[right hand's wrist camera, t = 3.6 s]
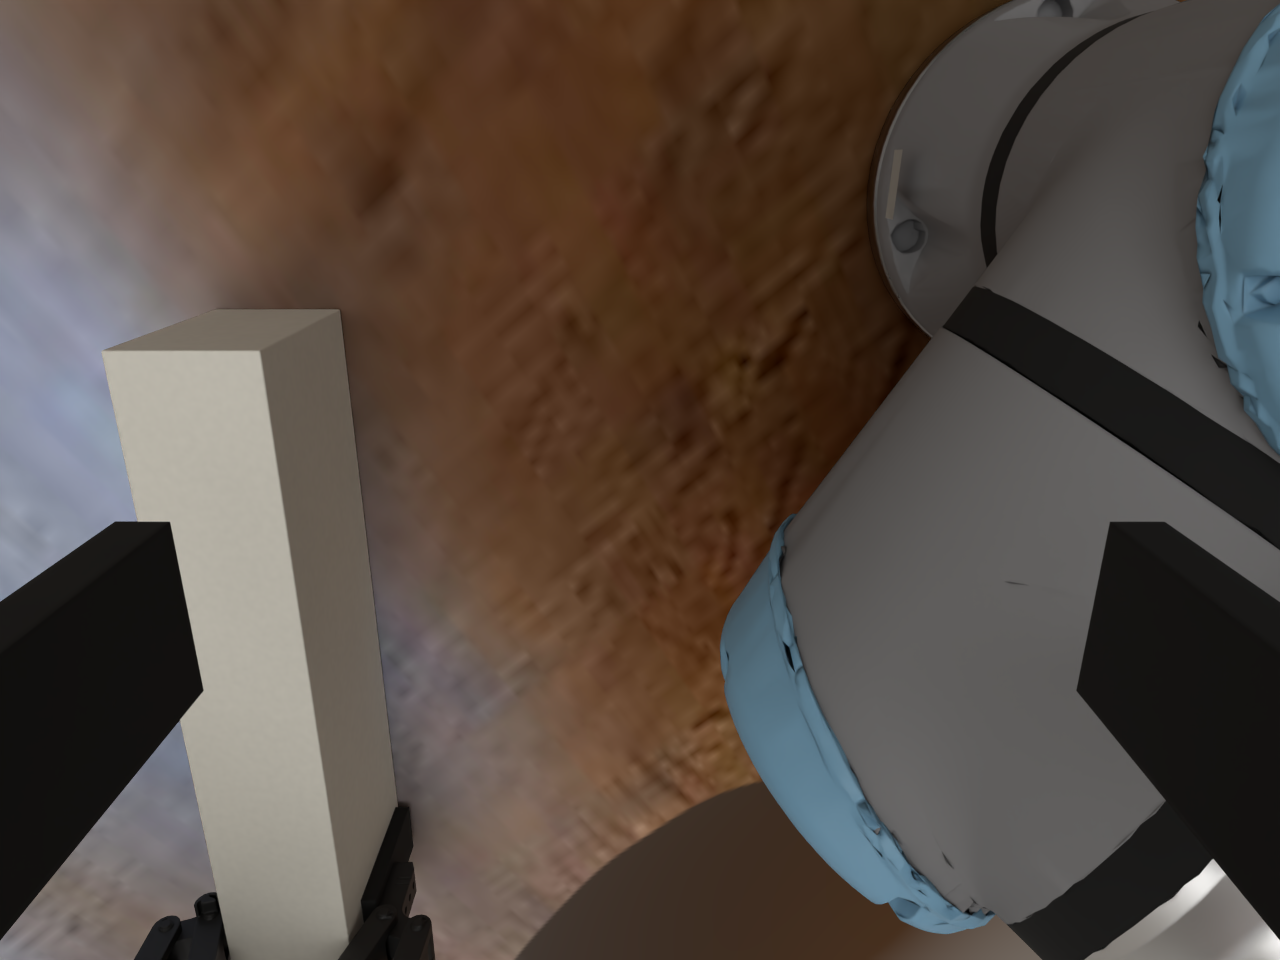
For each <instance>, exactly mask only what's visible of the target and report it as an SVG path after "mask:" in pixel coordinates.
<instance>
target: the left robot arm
mask: <svg viewBox="0 0 1280 960" xmlns="http://www.w3.org/2000/svg"><path fill="white" fill-rule="evenodd" d="M412 848H413V840H412V831H411V822H410V813H409V807H395V810H394V812H393V815H392V818H391V820H390V823H389V826H388V828H387V831H386V834H385V837H384V839H383V842H382V845H381V847H380V850H379V853H378V855H377V858H376V861H375V863H374V866H373V869H372V871H371V874H370V877H369V879H368V882H367V885H366V887H365V890H364V893H363V895H362V898H361V907H362V914H363V921H364V924H363V925H362V927H361V928H360V929H359V931H358V932H357V934H356V935H355V936H354V938H353V939H352V940H351V942H350V943H349V945H348V946H347V947H346V949H345V950H344V952H343V953H342V954H341V956H340V957H339V958H338V960H435V952H434V943H433V934H432V924H431V920H430V918H429V917H427V916H425V915H416V916H414V917H412V918H409V913H410V910H411V907H412V903H413V899H414V897H415V894H416V883H415V874H414V867H413V862H408V860H409V857H410V854H411V851H412ZM194 907H195V912H196V916H197V917H195V918H192V919H188V920H184V921H180V919H179V918H178V917H177V916H167V917H164V918H162V919H160V920H159V921H157V922H156V923H155V925H154V926H153V927H152V929H151V931H150V933H149V934H148V936H147V938H146V940H145V941H144V943H143V945H142V947H141V948H140V950H139V952H138V954H137V955H136V957H135V959H134V960H231V957H230V952H229V948H228V943H227V938H226V934H225V929H224V924H223V920H222V915H221V910H220V906H219V901H218V896H217V893H216V892H212V893H207V894H204V895H203V896H201V897H200V898H199V899H198V900H197V901H196V902H195V904H194Z"/></svg>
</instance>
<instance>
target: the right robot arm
mask: <svg viewBox="0 0 1280 960" xmlns="http://www.w3.org/2000/svg"><path fill="white" fill-rule="evenodd" d="M867 223H868V231H869V239H870V243H871V248H872V252H873V256H874V259H875V262H876V265H877V268H878V271H879V273H880V275H881V277H882V280H883V282H884V284H885V286H886V288H887V290H888V291H889V293H890V295H891V296H892V298H893V300H894V301H895V302H896V304H897V305H898V307H899V308H900V309H901V311H902V312H903V313H904V314H905V315H906V316H907V317H908V319H909V320H910V321H911V322H912V323H913V324H914V325H915V326H916V327H918V328H919V329H920V330H921V331H922V332H923V333H925V334H926V335H927V336H929V337H930V338H931V340H930V341H929V343H928V344H927V345H926V347H925V348H924V349H923V350H922V352H921V353H920V354H919V356H918V357H917V358H916V360H915V361H914V362H913V364H912V365H911V366H910V367H909V369H908V370H907V371H906V373H905V374H904V375H903V377H902V378H901V379H900V381H899V382H898V383H897V384H896V386H895V387H894V388H893V390H892V391H891V392H890V394H889V395H888V396H887V397H886V399H885V400H884V401H883V403H882V404H881V405H880V407H879V408H878V409H877V411H876V412H875V413H874V414H873V416H872V417H871V418H870V420H869V421H868V422H867V424H866V425H865V426H864V428H863V429H862V430H861V431H860V433H859V434H858V435H857V437H856V438H855V439H854V441H853V442H852V443H851V445H850V446H849V447H848V448H847V450H846V451H845V452H844V454H843V455H842V456H841V458H840V459H839V460H838V461H837V463H836V464H835V465H834V467H833V468H832V469H831V471H830V472H829V473H828V475H827V476H826V477H825V478H824V480H823V481H822V482H821V484H820V485H819V486H818V488H817V489H816V490H815V492H814V493H813V494H812V495H811V497H810V498H809V499H808V501H807V502H806V503H805V505H804V506H803V507H802V508H801V510H800V511H799V512H798V513H797V514H791V515H790V516H789V517H788V518H787V519H786V520H785V521H784V522H783V523H782V524H781V526H780V527H779V529H778V530H777V532H776V533H775V535H774V538H773V541H772V544H771V548H770V551H769V552H768V554H767V555H766V557H765V558H764V560H763V561H762V563H761V564H760V566H759V567H758V569H757V570H756V572H755V573H754V575H753V576H752V578H751V579H750V581H749V582H748V584H747V585H746V587H745V588H744V590H743V591H742V593H741V594H740V596H739V597H738V598H737V600H736V601H735V603H734V604H733V606H732V608H731V609H730V611H729V613H728V616H727V618H726V621H725V624H724V627H723V631H722V636H721V643H720V656H721V670H722V673H723V676H724V679H725V685H724V690H725V696H726V700H727V704H728V707H729V710H730V713H731V716H732V719H733V721H734V724H735V727H736V729H737V731H738V734H739V736H740V738H741V741H742V743H743V745H744V747H745V749H746V751H747V753H748V755H749V757H750V759H751V761H752V762H753V764H754V766H755V768H756V770H757V771H758V773H759V775H760V777H761V778H762V780H763V781H764V783H765V784H766V786H767V788H768V789H769V791H770V792H771V794H772V795H773V797H774V798H775V800H776V801H777V802H778V804H779V805H780V807H781V808H782V809H783V811H784V812H785V814H786V815H787V816H788V818H789V819H790V820H791V822H792V823H793V824H794V826H795V827H796V828H797V830H798V831H799V832H800V833H801V834H802V836H803V837H804V838H805V839H806V840H807V841H808V843H809V844H810V845H811V846H812V847H813V848H814V849H815V851H816V852H817V853H818V854H819V855H820V856H821V857H822V858H823V859H824V860H825V861H826V862H827V863H828V864H829V865H830V866H831V867H832V868H833V869H834V870H835V871H836V872H837V873H838V874H839V875H840V876H841V877H842V878H843V879H844V880H845V881H847V882H848V883H849V884H850V885H851V886H852V887H853V888H855V889H856V890H857V891H859V892H860V893H861V894H862V895H864V896H865V897H866V898H867V899H869V900H870V901H871V902H873V903H875V904H884V903H887V902H888V903H889V904H890V906H891V907H892V909H893V910H894V912H895V913H896V915H897V916H898V918H899V919H900V920H901V921H903V922H906V923H908V924H910V925H912V926H914V927H916V928H919V929H921V930H924V931H928V932H933V933H940V934H950V933H954V932H958V931H962V930H965V929H967V928H969V929H973V928H976V927H980V926H984V925H986V924H987V923H988V922H989V921H990V920H991V919H992V918H993V916H994V915H995V914H996V915H997V916H998V917H999V918H1000V919H1001V920H1002V921H1003V922H1005V923H1006V924H1007V925H1008V926H1009V927H1010V928H1011V929H1012V930H1013V931H1014V932H1015V933H1016V934H1017V935H1018V936H1019V937H1020V938H1021V939H1022V940H1023V941H1024V942H1025V943H1026V944H1027V945H1028V946H1029V947H1030V948H1031V949H1032V950H1033V951H1034V952H1035V953H1036V954H1037V955H1038V956H1039V957H1040V958H1041V959H1042V960H1280V0H1187V1H1183V2H1178V1H1176V0H1012V1H1010V2H1008V3H1005V4H1003V5H1001V6H999V7H997V8H994V9H992V10H990V11H988V12H986V13H985V14H983V15H981V16H979V17H978V18H976V19H974V20H972V21H971V22H969V23H968V24H967V25H965V26H964V27H962V28H961V29H960V30H958V31H957V32H955V33H954V34H953V35H952V36H950V37H949V38H948V39H947V40H946V41H945V42H943V43H942V44H941V45H940V46H939V47H938V48H937V49H936V50H935V51H934V52H933V53H932V54H931V55H930V56H929V57H928V58H927V59H926V60H925V61H924V62H923V64H922V65H921V66H920V67H919V68H918V70H917V71H916V72H915V73H914V75H913V76H912V77H911V79H910V80H909V81H908V83H907V84H906V86H905V87H904V89H903V90H902V92H901V93H900V95H899V97H898V98H897V100H896V102H895V104H894V105H893V107H892V109H891V111H890V113H889V115H888V117H887V120H886V122H885V124H884V126H883V128H882V131H881V134H880V137H879V140H878V142H877V145H876V148H875V152H874V156H873V160H872V164H871V169H870V175H869V181H868V192H867ZM203 691H204V689H203V684H202V679H201V674H200V669H199V664H198V659H197V654H196V649H195V644H194V639H193V634H192V629H191V624H190V619H189V614H188V609H187V604H186V599H185V594H184V589H183V584H182V579H181V574H180V569H179V564H178V559H177V554H176V549H175V544H174V539H173V534H172V529H171V524H170V522H114V523H113V524H111V525H110V526H108V527H107V528H105V529H104V530H103V531H101V532H100V533H98V534H97V535H95V536H94V537H93V538H91V539H90V540H88V541H87V542H85V543H84V544H82V545H81V546H80V547H78V548H77V549H75V550H74V551H72V552H71V553H70V554H68V555H67V556H65V557H64V558H62V559H61V560H60V561H58V562H57V563H55V564H54V565H52V566H51V567H50V568H48V569H47V570H45V571H44V572H42V573H41V574H39V575H38V576H37V577H35V578H34V579H32V580H31V581H29V582H28V583H27V584H25V585H24V586H22V587H21V588H19V589H18V590H17V591H15V592H14V593H12V594H11V595H9V596H8V597H7V598H5V599H4V600H2V601H1V602H0V940H1V939H2V938H3V936H4V935H5V934H6V933H7V931H8V930H9V929H10V928H11V927H12V925H13V924H14V923H15V922H16V920H17V919H18V918H19V917H20V915H21V914H22V913H23V912H24V911H25V909H26V908H27V907H28V906H29V904H30V903H31V902H32V901H33V900H34V898H35V897H36V896H37V895H38V893H39V892H40V891H41V890H42V888H43V887H44V886H45V885H46V884H47V882H48V881H49V880H50V879H51V877H52V876H53V875H54V874H55V873H56V871H57V870H58V869H59V868H60V866H61V865H62V864H63V863H64V862H65V860H66V859H67V858H68V857H69V855H70V854H71V853H72V852H73V850H74V849H75V848H76V847H77V846H78V844H79V843H80V842H81V841H82V839H83V838H84V837H85V836H86V835H87V833H88V832H89V831H90V830H91V828H92V827H93V826H94V825H95V823H96V822H97V821H98V820H99V819H100V817H101V816H102V815H103V814H104V812H105V811H106V810H107V809H108V808H109V806H110V805H111V804H112V803H113V801H114V800H115V799H116V798H117V796H118V795H119V794H120V793H121V792H122V790H123V789H124V788H125V787H126V785H127V784H128V783H129V782H130V781H131V779H132V778H133V777H134V776H135V774H136V773H137V772H138V771H139V770H140V768H141V767H142V766H143V765H144V763H145V762H146V761H147V760H148V758H149V757H150V756H151V755H152V754H153V752H154V751H155V750H156V749H157V747H158V746H159V745H160V744H161V743H162V741H163V740H164V739H165V738H166V736H167V735H168V734H169V733H170V731H171V730H172V729H173V728H174V727H175V725H176V724H177V723H178V722H179V720H180V719H181V718H182V717H183V716H184V714H185V713H186V712H187V711H188V709H189V708H190V707H191V706H192V704H193V703H194V702H195V701H196V700H197V698H198V697H199V696H200V695H201V693H202V692H203Z"/></svg>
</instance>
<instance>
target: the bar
mask: <svg viewBox="0 0 1280 960" xmlns="http://www.w3.org/2000/svg"><path fill="white" fill-rule="evenodd" d="M102 357H103V361H104V366H105V371H106V376H107V380H108V385H109V390H110V394H111V399H112V404H113V408H114V413H115V418H116V422H117V427H118V432H119V437H120V441H121V446H122V451H123V455H124V460H125V465H126V469H127V474H128V479H129V483H130V488H131V493H132V497H133V502H134V507H135V512H136V516H137V521H138V522H170V524H171V529H172V534H173V539H174V544H175V549H176V554H177V559H178V564H179V569H180V574H181V579H182V584H183V589H184V594H185V599H186V604H187V609H188V614H189V619H190V624H191V629H192V634H193V639H194V644H195V649H196V654H197V659H198V664H199V669H200V674H201V679H202V684H203V689H204V691H203V692H202V693H201V695H200V696H199V697H198V698H197V700H196V701H195V702H194V703H193V704H192V706H191V707H190V708H189V709H188V711H187V712H186V713H185V714H184V716H183V717H182V718H181V719H180V723H181V727H182V732H183V737H184V741H185V746H186V751H187V755H188V760H189V765H190V770H191V774H192V779H193V784H194V788H195V793H196V798H197V802H198V807H199V812H200V816H201V821H202V826H203V831H204V835H205V840H206V845H207V849H208V854H209V859H210V863H211V868H212V873H213V877H214V882H215V887H216V891H217V896H218V901H219V906H220V910H221V915H222V920H223V924H224V929H225V934H226V938H227V943H228V948H229V952H230V957H231V960H338V958H339V957H340V956H341V954H342V953H343V952H344V950H345V949H346V947H347V946H348V945H349V943H350V942H351V940H352V939H353V938H354V936H355V935H356V934H357V932H358V931H359V929H360V928H361V927H362V925H363V924H364V921H363V914H362V907H361V898H362V895H363V893H364V890H365V887H366V885H367V882H368V879H369V877H370V874H371V871H372V869H373V866H374V863H375V861H376V858H377V855H378V853H379V850H380V847H381V845H382V842H383V839H384V837H385V834H386V831H387V828H388V826H389V823H390V820H391V818H392V815H393V812H394V810H395V807H398V802H397V794H396V785H395V777H394V768H393V760H392V751H391V742H390V734H389V725H388V717H387V708H386V700H385V691H384V683H383V674H382V665H381V657H380V648H379V640H378V631H377V623H376V614H375V606H374V597H373V589H372V580H371V571H370V563H369V554H368V546H367V537H366V529H365V520H364V512H363V503H362V495H361V486H360V477H359V469H358V460H357V452H356V443H355V435H354V426H353V418H352V409H351V400H350V392H349V383H348V375H347V366H346V358H345V349H344V341H343V332H342V324H341V315H340V310H339V309H215V310H213V311H210V312H207V313H204V314H202V315H199V316H196V317H193V318H191V319H188V320H185V321H182V322H180V323H177V324H174V325H171V326H169V327H166V328H163V329H160V330H158V331H155V332H152V333H149V334H147V335H144V336H141V337H138V338H136V339H133V340H130V341H127V342H125V343H122V344H119V345H116V346H114V347H111V348H108V349H105V350H103V351H102Z"/></svg>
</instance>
